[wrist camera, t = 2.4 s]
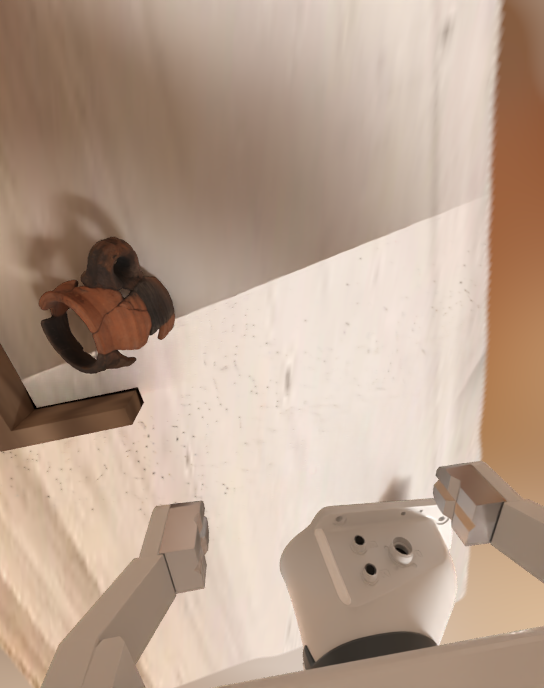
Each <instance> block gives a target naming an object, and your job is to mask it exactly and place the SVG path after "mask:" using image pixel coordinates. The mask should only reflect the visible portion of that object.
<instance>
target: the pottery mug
mask: <svg viewBox="0 0 544 688" xmlns="http://www.w3.org/2000/svg"><path fill="white" fill-rule="evenodd" d="M116 260H117V262H116V263H115V261H116ZM114 263H115V264H114ZM81 281H82V283H83V284H84V285H85V286H80V287H78V281H77V280H71V281H67V282H64V283H62V284H60V285H59V286H58V287H57V288H55V290H54V291H48V292H46V293H44V294H43V295H42V296H41V298H40V300H39V306H40V307H41V309H42V310H48V309H50V310H51V314H52V317H51V318H48V319H44V320H42V321H41V326H42V328H43V331H44V333H45V335H46V337H47V339H48V340H49V342H50V343H51V345H52V346H53V348H54V349H55V350H56V351H57V352H58V354H60V355H61V357H62V358H63V359H64V360H65V361H66V362H67V363H69V364H70V365H71V366H72V367H74V368H75V369H77V370H79V371H81V372H84V373H86V374H88V373H89V374H93V373H98V372H101V371H105V370H106V369H117V368H120V367H125V366H130V365H131V364H133V363H134V362H135V361H136V358H135V357H127V356H124V355H122V354H121V353H120V352H119V351H118V350H134V349H135V350H136V349H140V348H141V347H143V346H144V345H145V344H146V343H147V341H148V336H149V335H153V334H154V333H155V332H156V331H157V330H158V329H159V334H158V339H160V340H162V339H164V338H165V337H166V335H167V334H168V333H169V332H170V331H171V330H172V328H173V326H174V321H175V314H174V307H173V302H172V300H171V298H170V295H169V293H168V291H167V290H166V288H165V287H164V286H163V285H162V284H161V282H160V281H159V280H158V279H156V278H155V277H144V276H143V273H142V271H141V270H140V266H139V261H138V257H137V254H136V252H135V251H134V250H133V248H132V247H131V246H130V245H129V244H128V243H127V242H125V241H124V240H120V239H118V238H116V237H110V238H107V239H104V240H101V241H99V242H97V243H96V244H95V245H94V246H93V247H92V249H91V250H90V252H89V256H88V264H87V270H86V271H85V272H84V273H83V274H82V275H81ZM121 288H123V289H127V290H130V291H131V292H130V294H129V295H128V296H127V297H125V298H124V297H123V296H122V294H121V292H119V290H120V289H121ZM70 308H71V309H72V310H73V311H74V312H75V313H76V314H77V315H78V316H79V317H80V318H81V319H82V320H83V321H84V323H85V324H86V325H87V327H88V329H89V330H90V332H91V333H92V336H93V338H94V341H95V344H96V348H97V352H98V355H97V360H96V359H95V358H93V357H92V356H91V355H90V354H88V353H86V352H84V351H83V347H82V346H81V344H80V343H79V342H78V341H77V340H76V338H75V337H74V336H73V334H72V333H71V330H70V327H69V323H68V318H67V313H66V312H67V310H68V309H70Z"/></svg>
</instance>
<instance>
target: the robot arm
mask: <svg viewBox="0 0 544 688" xmlns="http://www.w3.org/2000/svg"><path fill="white" fill-rule="evenodd" d="M436 476H437V478H438V479H439V480H438V481H437V482H436V483H435V484H434V488H433V495H434V498H430V499H416V500H403V501H390V502H378V503H365V504H352V505H339V506H328V507H325V508H323V509H321V510H320V511H319V512H318V513H317V514H316V516H315V517H314V519H313V520H312V522H311V524H310V525H309V526H308V527H307V528H306V529H304V530H303V531H302V532H300V533H299V534H298V535H297V536H295V537H294V538H293V539H292V540H291V541H290V542H289V544H288V545H287V546H286V548H285V549H284V551H283V553H282V555H281V559H280V572H281V574H282V577H283V579H284V581H285V584H286V586H287V589H288V592H289V595H290V598H291V601H292V604H293V608H294V611H295V615H296V618H297V622H298V626H299V630H300V634H301V639H302V643H303V648H304V649H303V661H304V663H303V669H304V671H298V672H293V673H287V674H282V675H277V676H271V677H267V678H261V679H255V680H250V681H244V682H239V683H234V684H228V685H223V686H218V687H212V688H544V626H541V627H536V628H530V629H525V630H520V631H514V632H509V633H503V634H498V635H493V636H487V637H482V638H476V639H471V640H466V641H460V642H455V643H449V644H444V645H439V644H440V642H441V639H442V636H443V634H444V631H445V628H446V626H447V623H448V620H449V617H450V615H451V612H452V609H453V607H454V603H455V599H456V593H457V576H456V570H455V566H454V563H453V560H452V557H451V555H450V552H449V551H450V548H451V543H452V528H453V530H454V531H455V532H456V534H457V535H458V537H459V538H460V539H461V541H462V542H463V544H464V545H465V546H471V545H479V544H487V543H491V545H492V546H494V547H495V548H496V549H498V550H499V551H500V552H502V553H503V554H505V555H506V556H507V557H509V558H510V559H511V560H513V561H514V562H515V563H517V564H518V565H519V566H521V567H522V568H524V569H525V570H526V571H528V572H529V573H530V574H532V575H533V576H535V577H536V578H537V579H539V580H540V581H541V582H543V583H544V506H541V505H540V504H538V503H535V502H533V501H531V500H529V499H523V498H522V497H521V496H520V495H518V494H517V493H516V492H515V491H514V490H513V489H512V488H511V487H510V486H509V485H508V484H507V483H506V482H505V481H504V480H503V479H502V478H501V477H500V476H499V475H498V474H497V473H496V472H495V471H493V469H491V468H490V467H489V466H488V465H487V464H486V463H485V462H483V461H477V462H470V463H462V464H455V465H449V466H442V467H439V468H438V469H437V472H436ZM204 511H205V507H204V503H203V501H195V502H186V503H177V504H170V505H161V506H156V507H155V508H154V510H153V512H152V515H151V518H150V522H149V525H148V529H147V532H146V535H145V539H144V542H143V546H142V549H141V552H140V556H139V558H135V559H133V560H132V561H131V563H130V564H129V565H128V566H127V567H126V568H125V569H124V571H123V572H122V573H121V574H120V575H119V576H118V577H117V579H116V580H115V581H114V582H113V583H112V584H111V585H110V587H109V588H108V589H107V590H106V591H105V592H104V593H103V595H102V596H101V597H100V598H99V599H98V600H97V601H96V603H95V604H94V605H93V606H92V607H91V608H90V610H89V611H88V612H87V613H86V614H85V615H84V616H83V618H82V619H81V620H80V621H79V622H78V623H77V624H76V626H75V627H74V628H73V629H72V630H71V631H70V632H69V634H68V635H67V636H66V637H65V638H64V639H63V640H62V642H61V643H60V644H59V646H58V648H57V650H56V653H55V655H54V657H53V660H52V662H51V664H50V667H49V669H48V671H47V674H46V676H45V678H44V681H43V683H42V685H41V688H146V687H145V685H144V683H143V681H142V679H141V676H140V674H139V672H138V670H137V668H136V666H135V665H136V663H137V662H138V660H139V658H140V656H141V655H142V653H143V651H144V650H145V648H146V646H147V645H148V643H149V641H150V639H151V638H152V636H153V634H154V633H155V631H156V629H157V628H158V626H159V624H160V622H161V621H162V619H163V617H164V616H165V614H166V612H167V611H168V609H169V607H170V605H171V604H172V602H173V600H174V599H175V597H176V594H177V593H183V592H188V591H193V590H198V589H203V588H204V587H205V577H206V566H207V564H206V560H205V554H206V552H207V551H208V543H209V529H208V521H207V518H206V517H205V516H204Z"/></svg>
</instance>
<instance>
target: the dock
mask: <svg viewBox="0 0 544 688" xmlns="http://www.w3.org/2000/svg"><path fill="white" fill-rule="evenodd" d="M143 403H144V402H143V399H142V397H141V394H140V392H139V389H138V387H137V388H132V389H127V390H122V391H117V392H112V393H107V394H102V395H97V396H92V397H87V398H82V399H77V400H72V401H68V402H63V403H58V404H53V405H48V406H43V407H38V408H37V407H36V406H35V404H34V402H33V400H32V399H31V397H30V395H29V393H28V391H27V390H26V388H25V386H24V384H23V383H22V381H21V379H20V377H19V376H18V374H17V372H16V370H15V369H14V367H13V365H12V363H11V362H10V360H9V358H8V356H7V355H6V353H5V351H4V349H3V348H2V346H1V344H0V451H1V452H2V451H7V450H11V449H16V448H21V447H26V446H31V445H36V444H40V443H45V442H50V441H55V440H60V439H65V438H69V437H74V436H79V435H84V434H89V433H94V432H98V431H103V430H108V429H113V428H118V427H123V426H127V425H132V424H133V422H134V420H135V418H136V416H137V414H138V413H139V411H140V409H141V407H142V405H143Z"/></svg>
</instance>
